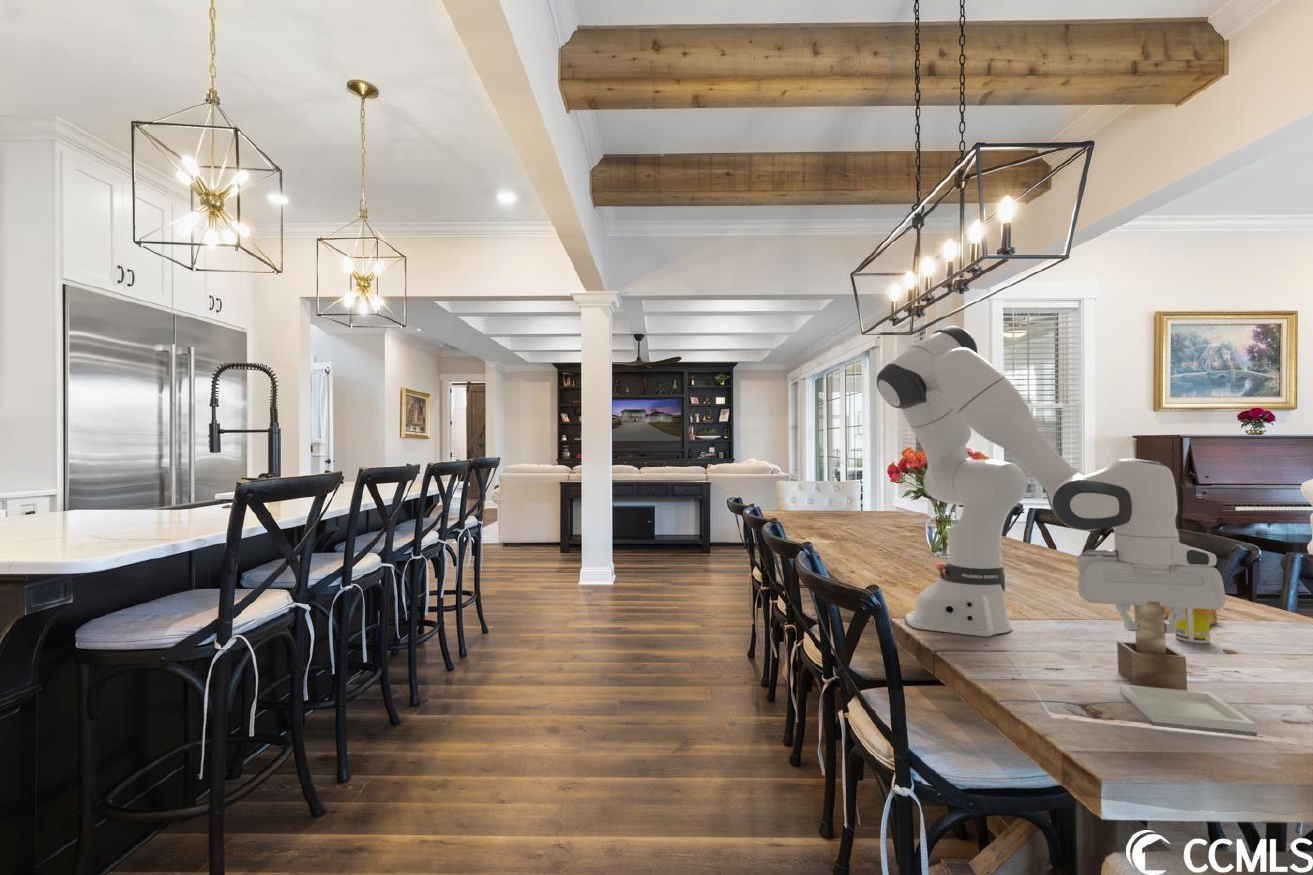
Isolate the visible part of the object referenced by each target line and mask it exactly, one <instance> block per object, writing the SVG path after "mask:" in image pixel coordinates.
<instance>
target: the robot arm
mask: <svg viewBox="0 0 1313 875" xmlns="http://www.w3.org/2000/svg"><path fill="white" fill-rule="evenodd" d="M876 387H877V389H878V392H879V393H880V395H881V397H882V398H883V400H884V401H885V402H886V403H887V404H889V405H890V406H891V407H894V408H896V409H901V411H902V413H903V415H904V417H905V420H906V421H907V423H908V425H909V427H910V428H911V430H912V431H913V433H914V435H915V437H916V439H917V441H918V442H919V444H920V446H921V448H922V449H923V452H924V455H925V457H926V461H927V469H926V471H925V473H924V476H923V485H924V489H925V492H926V493H927V494H928V496H930V497H931V498H932V499H934V500H937V501H940V502H942V503H944V504H945V503H946V504H948V505H956V506H957V505H958V506H959V505H960V506H962V508H963V509H962V513H961V516H960V519H959V520H958V522H957V523H956V524H953V525H952V526H951V527H950V529H949V530H948V534H947V536H948V540H947V541H948V563H946V564H944V563H943V562H938V563H937V564H936V566H935V567H936V570H937V571H938V572H939V577H940V579H939V580H937V581H936V582H934V583H932V584H931V585H930V586H928V587H927V588H925V589H923V590H922V591H920V593H919V595H918V596H917V599H916V602H915V607H914V608H915V609H914V610H912V611H909V612H907V614H905V615H906V616H905V621H906V623H907V624H908V625H909V626H910V627H912V628H915V629H919V630H923V631H924V630H925V631H933V632H934V631H935V632H944V633H949V634H950V633H952V634H959V635H960V634H961V635H970V636H975V637H976V636H977V637H992V636H994V635H1000V634H1004V633H1005V634H1006V633H1009V632H1011V631H1012V630H1013V626H1012V623H1011V620H1010V617H1009V613H1008V609H1007V603H1006V599H1005V598H1006V597H1005V591H1006V572H1005V567H1004V566H1003V565H1002V564H1003V563H1002V562H1003V561H1002V558H1003V557H1002V552H1003V551H1002V544H1003V543H1002V542H1003V541H1002V539H1003V537H1002V536H1003V530H1004V526H1005V522H1006V520H1007V518H1008V515H1009V514H1010V512H1011V510H1013V508H1014V507H1015V506H1016V505H1018V504H1020V502H1021V501H1022V500H1023V499H1024V497H1025V496H1026V493H1027V490H1028V480H1027V476H1026V474H1025V472H1024V471H1023V469H1022V468H1021V467H1020V466H1018V465H1017V464H1015V463H1012V462H1007V461H1005V460H999V459H995V458H993V459H992V458H991V459H988V458H987V459H982V458H981V459H978V458H977V459H974V458H972V457H971V456H970V455H969V453H968V450H967V446H966V445H967V444H968V443H969V441H970V439H971V436H972V430H973V431H974V432H975V433H977V434H979V436H981V437H983V439H985V440H987V441H989V442H991V443H993V444H995V445H997V446H998V447H1000V448H1002V449H1004V450H1005V451H1007V452H1008V453H1009V454H1011V455H1012V456H1013V457H1014V458H1015V459H1016V460H1017V461H1018V462H1019V463H1020V464H1021V465H1022V466H1023V467H1024V468H1025V469H1026V470H1027V472H1028V473H1029V474H1031V476H1032V477H1033V478H1034V479H1035V480H1036V481H1037V482H1038V484H1040V486H1041V487H1042V489H1043V490H1044V492H1045V494H1046V497H1047V501H1048V504H1049V506H1050V509H1051V511H1052V513H1053V514H1054V516H1055V517H1056V518H1057V519H1058V520H1059V521H1060V522H1061V523H1063V524H1064V525H1066V526H1067V527H1069V528H1071V529H1074V530H1078V531H1084V532H1085V531H1086V532H1087V531H1088V532H1090V531H1096V530H1099V529H1101V530H1102V529H1108V528H1109V529H1110V528H1112V529H1113V535H1114V536H1113V537H1114V550H1113V549H1112V550H1111V549H1110V550H1109V549H1102V550H1096V549H1087V550H1086V551H1084V552H1081V553H1080V554H1079V555H1078V556H1077V560H1076V561H1077V563H1076V564H1077V570H1078V572H1079V575H1078V576H1079V577H1078V591H1077V592H1078V595H1079V596H1080V598H1081V599H1082V600H1084V601H1085V602H1086V603H1088V604H1100V605H1101V604H1103V605H1115V609H1116V611H1117V612H1118V613H1119V615H1120V617H1121V618H1122V619H1123V623H1124V624H1123V625H1124V629H1125V630H1126V631H1127V632H1128V631H1129V632H1135V631H1138V627H1137V626H1138V621H1136V620H1135V618H1131V617H1130V615H1129V613H1128V612H1131V606H1134V605H1138V606H1144V605H1146V603H1147V602H1159V603H1160V606H1162V607H1168V610H1169V611H1170V612H1171V614H1170V616H1169V617H1167V619H1166V620H1164V623H1165V634H1174V635H1175V634H1176V624H1177V623H1178V621H1179V620H1180V619H1181V617H1182V616H1183V615H1184V609H1183V608H1197V609H1216V611H1217V610H1219V611H1220V609H1222V608H1223V607H1224V606H1225V604H1226V591H1225V586H1224V580H1223V577H1222V574H1221V572H1219V570H1218V569H1217V568H1215V567H1214V566H1216V565H1217V555H1216V554H1215V553H1212V552H1210V551H1206V550H1204V549H1201V548H1197V547H1194V546H1192V545H1190V544H1186V543H1181V542H1180V536H1179V531H1178V529H1177V526H1176V517H1177V515H1178V514H1177V513H1178V496H1177V494H1178V493H1177V488H1176V487H1177V486H1176V482H1175V478H1174V474H1173V471H1172V470H1171V469H1170V468H1169V467H1168V466H1166V465H1165V464H1163V463H1162V462H1159V461H1154V460H1146V459H1139V458H1130V457H1122V458H1118V459H1116V460H1115V461H1114V462H1112V463H1110V464H1108V465H1106V466H1104V467H1102V468H1100V469H1098V470H1097V469H1096V470H1095V471H1092V472H1090V473H1086V474H1085V473H1081V472H1080V471H1078V470H1076V469H1075V468H1074V467H1072V466H1071V465H1070V464H1069V463H1068V462H1067V461H1066V460H1065V459H1064V458H1063V457H1062V456H1061V455H1060V453H1059V452H1057V450H1056V449H1054V447H1053V446H1052V445H1051V444H1050V443H1049V442H1048V441H1047V440H1046V439H1045V438H1044V437H1043V435H1042V434H1041V433H1040V431H1039V429H1038V427H1037V426H1036V423H1035V421H1034V419H1033V416H1032V414H1031V410H1030V407H1029V406H1028V404H1027V403H1026V402H1027V401H1025V399H1024V398H1023V397H1022V396H1023V395H1022V394H1020V392H1019V390H1018V389H1017V388H1016V387H1015V386H1014V385H1013V384H1012V382H1011V381H1010V380H1009V379H1008V378H1007V377H1006V376H1005V375H1004V374H1003V373H1002V372H1001V371H1000V370H999V369H998V368H997V367H995V366H994V365H993V364H991V363H990V362H989V361H988V360H987V359H985V358H984V357H983V356H981V355H980V354H978V346H977V343H976V340H975V339H974V338H973V336H972V335H971V334H970V333H969V331H967V330H965V329H964V328H962V327H959V326H958V325H947V326H945V327H942V328H939V329H938V330H936V331H934V332H933V333H932V334H931V335H928V336H927V337H925V338H922V339H921V340H919V341H918V342H916V343H914V344H913V345H911V346H910V347H909V348H908V349H907V350H905V351H904V352H903V353H901V354H900V355H899V356H898V357H897V358H895V359H894V360H893V361H892V362H891V363H888V364H887V365H885V366H884V367H883V368H882V369H881V370H880V371H879V373H878V374H877V376H876Z"/></svg>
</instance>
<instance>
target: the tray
mask: <svg viewBox="0 0 1313 875" xmlns="http://www.w3.org/2000/svg"><path fill="white" fill-rule="evenodd" d="M1119 692H1120V693H1121V694H1122V695H1123V696H1124V697H1125V698H1126V699H1127V700H1128V701H1129V702H1130V703H1132V705H1134V706H1135V707H1136V708H1137V709H1138V710H1139V711H1140V712H1141V713H1142V714H1144V715H1145V717H1146V718H1148V719H1149V720H1150V721H1151V722H1150V725H1152V726H1153V727H1163V728H1169V729H1171V728H1172V729H1180V730H1181V729H1182V730H1189V731H1197V732H1198V731H1199V732H1209V733H1219V734H1227V735H1237V736H1239V735H1240V736H1248V737H1257V736H1258V734H1257V723H1256V722H1254V721H1253V720H1251V719H1250V718H1248V717H1247V716H1246V715H1245V714H1242V713H1241V712H1240V711H1238V710H1237V709H1235V707H1232V706H1231V705H1229V704H1228V703H1226V702H1225V700H1224V701H1223V700H1222V699H1221V698H1219V697H1218V696H1216V695H1214V693H1212V692H1211V691H1199V690H1188V689H1187V690H1178V689H1167V688H1155V687H1144V686H1135V685H1133V684H1132V685H1130V684H1122V683H1121V684H1119Z"/></svg>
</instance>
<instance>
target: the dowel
mask: <svg viewBox="0 0 1313 875" xmlns="http://www.w3.org/2000/svg"><path fill="white" fill-rule="evenodd" d="M1133 606H1134V608H1133V609H1134V610H1133V611H1134V620H1136V621H1138V626H1137V627H1138V631H1134V632H1135V642H1136V653H1150V654H1164V655H1166V645H1167V643H1166V633H1165V623H1164V621H1165V614H1164V607H1162V606H1160V603H1159V602H1147V603H1146V605H1144V606H1138V605H1133Z"/></svg>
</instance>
